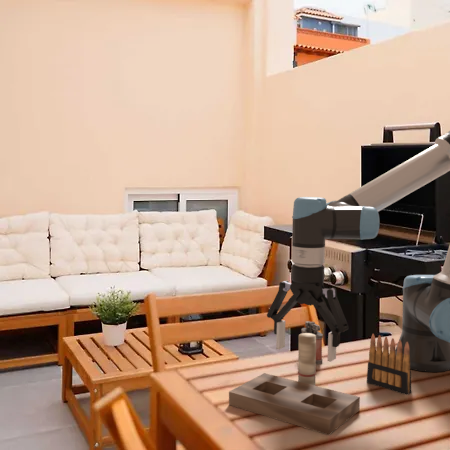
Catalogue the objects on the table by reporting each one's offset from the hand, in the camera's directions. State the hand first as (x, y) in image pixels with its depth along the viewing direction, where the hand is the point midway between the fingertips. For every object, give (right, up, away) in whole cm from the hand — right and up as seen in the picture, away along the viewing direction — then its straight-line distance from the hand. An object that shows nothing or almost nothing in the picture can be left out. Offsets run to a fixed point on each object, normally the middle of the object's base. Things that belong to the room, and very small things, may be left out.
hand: (305, 354), depth 141 cm
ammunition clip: (+19, -8, -1) cm, 21 cm away
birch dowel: (0, -8, +1) cm, 8 cm away
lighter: (+4, -6, +19) cm, 20 cm away
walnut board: (-4, -9, -12) cm, 15 cm away
